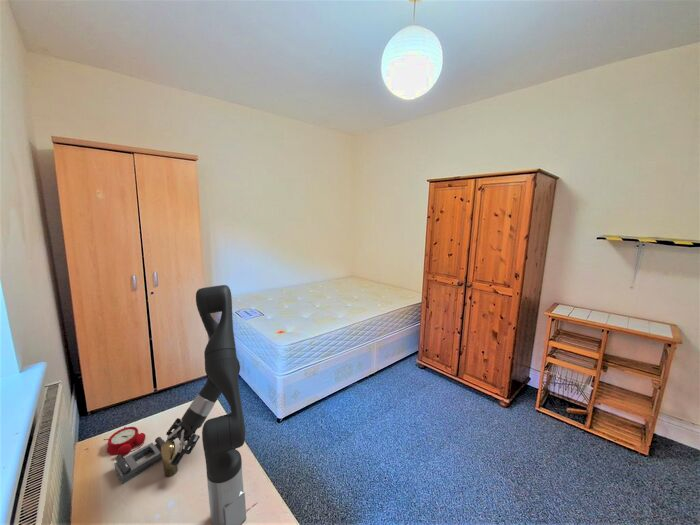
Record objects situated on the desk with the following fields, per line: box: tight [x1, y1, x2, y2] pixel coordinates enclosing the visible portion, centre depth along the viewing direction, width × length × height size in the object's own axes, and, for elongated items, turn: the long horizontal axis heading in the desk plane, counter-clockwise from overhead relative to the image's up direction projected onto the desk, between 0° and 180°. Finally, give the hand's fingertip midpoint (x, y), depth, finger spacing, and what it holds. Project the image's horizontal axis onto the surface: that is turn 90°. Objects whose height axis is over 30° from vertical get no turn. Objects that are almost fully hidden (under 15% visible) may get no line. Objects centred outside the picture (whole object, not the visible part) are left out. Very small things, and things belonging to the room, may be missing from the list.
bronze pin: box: [161, 440, 179, 478], centre depth 98 cm, size 4×4×11 cm
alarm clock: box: [103, 426, 147, 457], centre depth 109 cm, size 10×6×15 cm
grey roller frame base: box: [113, 436, 166, 484], centre depth 102 cm, size 9×15×5 cm, turn 143°
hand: (168, 458), depth 98 cm, fingers open, 8 cm apart
